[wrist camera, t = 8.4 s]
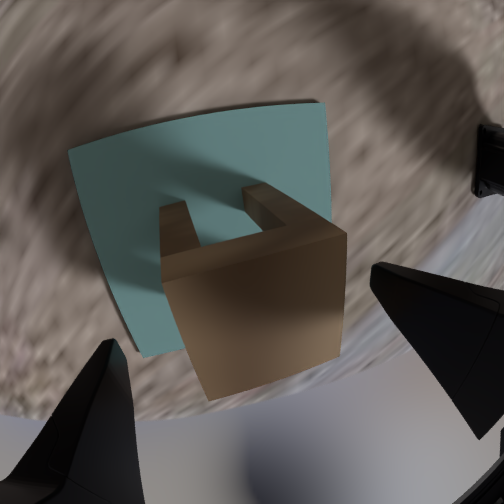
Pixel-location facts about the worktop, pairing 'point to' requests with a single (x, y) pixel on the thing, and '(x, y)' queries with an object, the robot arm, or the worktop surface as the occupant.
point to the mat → (191, 194)
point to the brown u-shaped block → (255, 292)
